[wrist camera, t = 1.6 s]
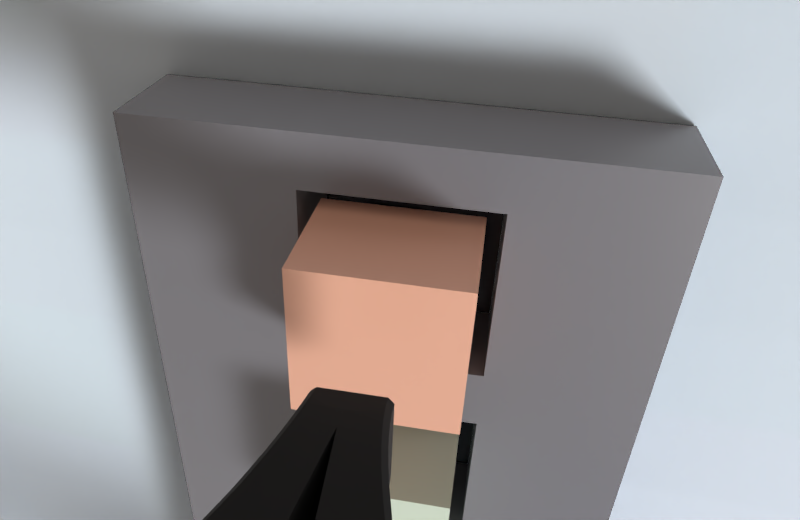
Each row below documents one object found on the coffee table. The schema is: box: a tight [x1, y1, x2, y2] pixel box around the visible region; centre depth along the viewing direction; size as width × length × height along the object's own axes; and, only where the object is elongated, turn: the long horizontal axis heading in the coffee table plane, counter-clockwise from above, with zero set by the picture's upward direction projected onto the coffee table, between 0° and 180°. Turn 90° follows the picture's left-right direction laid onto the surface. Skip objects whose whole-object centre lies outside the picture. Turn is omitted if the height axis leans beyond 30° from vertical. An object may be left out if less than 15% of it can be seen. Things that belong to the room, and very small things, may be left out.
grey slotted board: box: [113, 74, 723, 520], centre depth 20 cm, size 19×12×2 cm, turn 178°
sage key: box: [389, 425, 459, 520], centre depth 18 cm, size 4×4×3 cm
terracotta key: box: [282, 198, 487, 435], centre depth 14 cm, size 4×4×3 cm
